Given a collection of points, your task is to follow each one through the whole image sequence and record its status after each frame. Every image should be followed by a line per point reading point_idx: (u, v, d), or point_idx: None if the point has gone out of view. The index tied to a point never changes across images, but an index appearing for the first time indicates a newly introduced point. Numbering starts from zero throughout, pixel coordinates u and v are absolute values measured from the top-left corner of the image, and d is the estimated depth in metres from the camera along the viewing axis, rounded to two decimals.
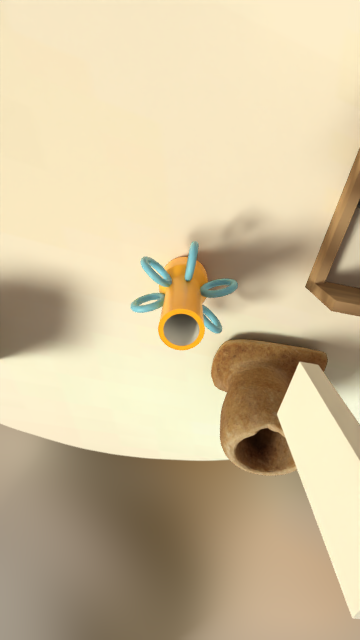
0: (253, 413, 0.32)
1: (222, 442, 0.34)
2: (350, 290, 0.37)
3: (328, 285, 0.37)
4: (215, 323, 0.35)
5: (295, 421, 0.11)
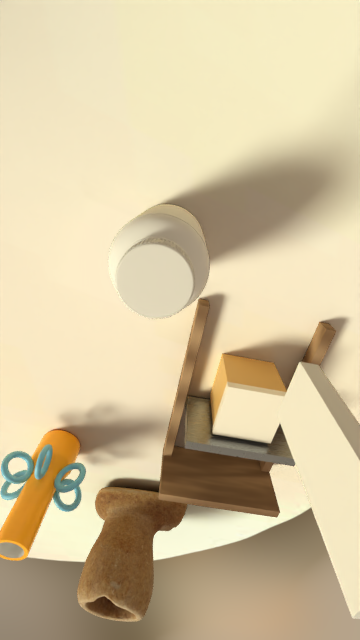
0: (96, 581, 0.40)
1: None
2: (193, 461, 0.45)
3: (175, 456, 0.45)
4: (76, 495, 0.43)
5: (295, 421, 0.11)
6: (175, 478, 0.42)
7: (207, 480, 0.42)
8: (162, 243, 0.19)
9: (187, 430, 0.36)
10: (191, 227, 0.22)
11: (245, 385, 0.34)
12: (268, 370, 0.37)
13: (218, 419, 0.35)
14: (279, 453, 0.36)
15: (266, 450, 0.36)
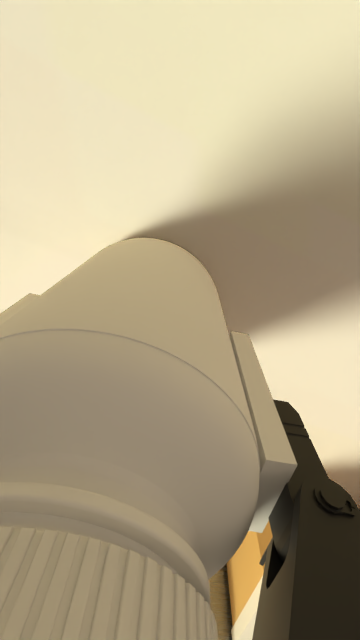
0: None
1: None
2: None
3: None
4: None
5: None
6: None
7: None
8: None
9: None
10: (201, 377, 0.06)
11: None
12: None
13: (244, 632, 0.19)
14: None
15: None
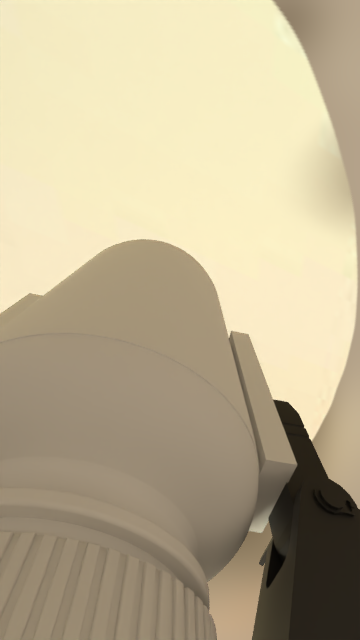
0: None
1: None
2: None
3: None
4: None
5: None
6: None
7: None
8: None
9: None
10: (200, 381, 0.06)
11: None
12: None
13: None
14: None
15: None
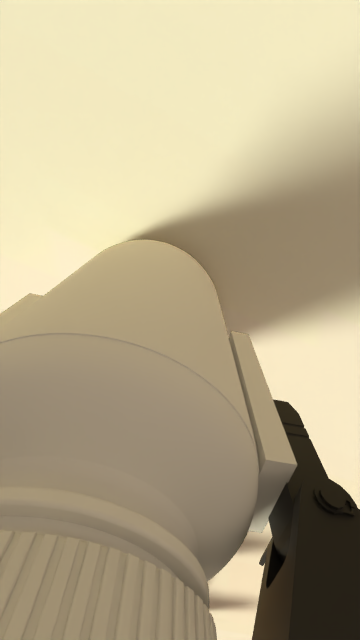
0: None
1: None
2: None
3: None
4: None
5: None
6: None
7: None
8: None
9: None
10: (200, 381, 0.06)
11: None
12: None
13: None
14: None
15: None
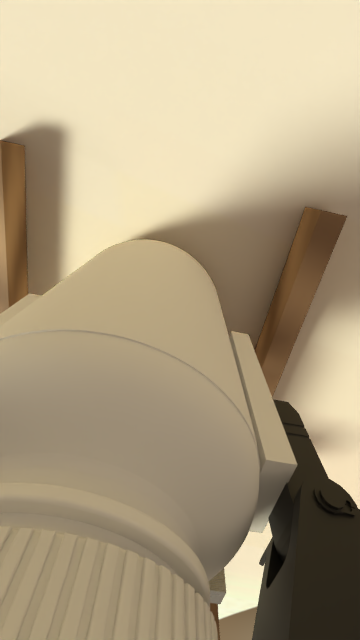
0: None
1: None
2: None
3: None
4: None
5: None
6: None
7: None
8: None
9: None
10: (199, 377, 0.06)
11: None
12: None
13: None
14: None
15: None
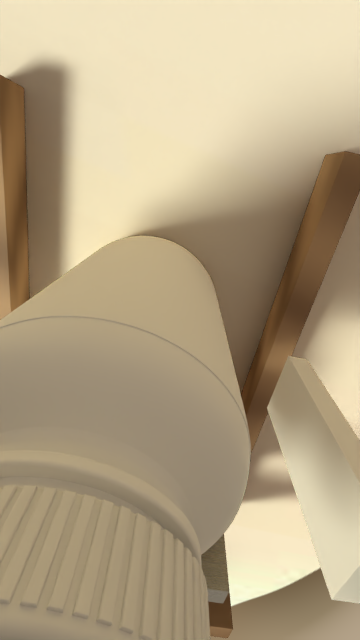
0: None
1: None
2: None
3: None
4: None
5: (283, 414, 0.11)
6: None
7: None
8: (5, 600, 0.03)
9: None
10: (189, 358, 0.06)
11: None
12: None
13: None
14: None
15: None
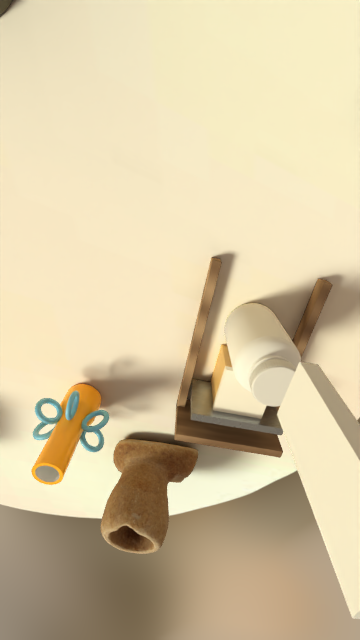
0: (118, 513, 0.45)
1: (101, 530, 0.46)
2: None
3: (188, 407, 0.50)
4: (99, 440, 0.48)
5: (294, 421, 0.11)
6: (189, 423, 0.46)
7: (217, 426, 0.47)
8: (284, 366, 0.30)
9: (192, 405, 0.43)
10: (291, 344, 0.34)
11: None
12: None
13: (217, 397, 0.42)
14: (269, 424, 0.43)
15: (259, 422, 0.43)
